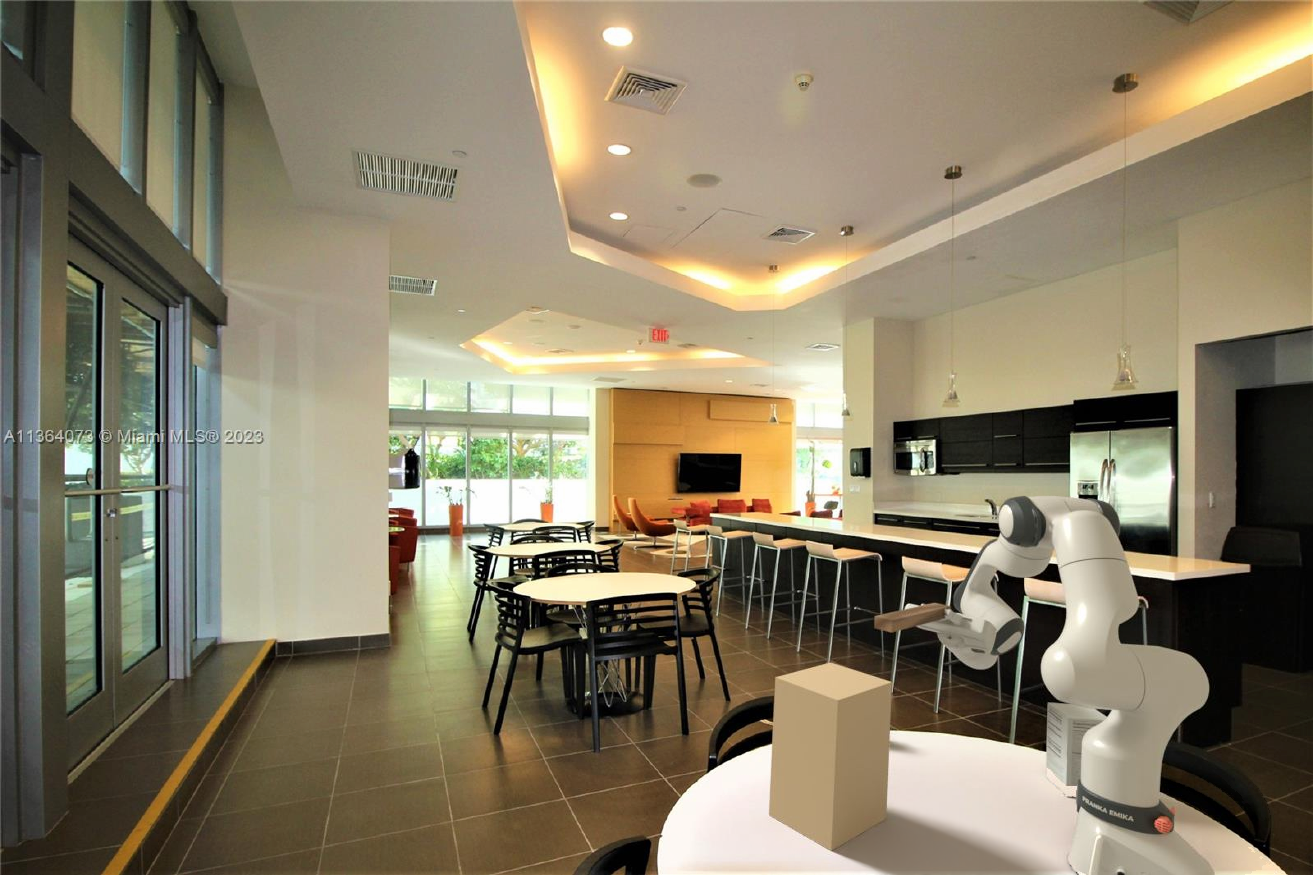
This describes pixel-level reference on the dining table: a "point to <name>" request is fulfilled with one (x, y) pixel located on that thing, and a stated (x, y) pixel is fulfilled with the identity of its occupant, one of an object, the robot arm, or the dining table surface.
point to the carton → (830, 752)
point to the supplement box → (1068, 739)
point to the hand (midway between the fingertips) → (934, 609)
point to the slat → (910, 617)
